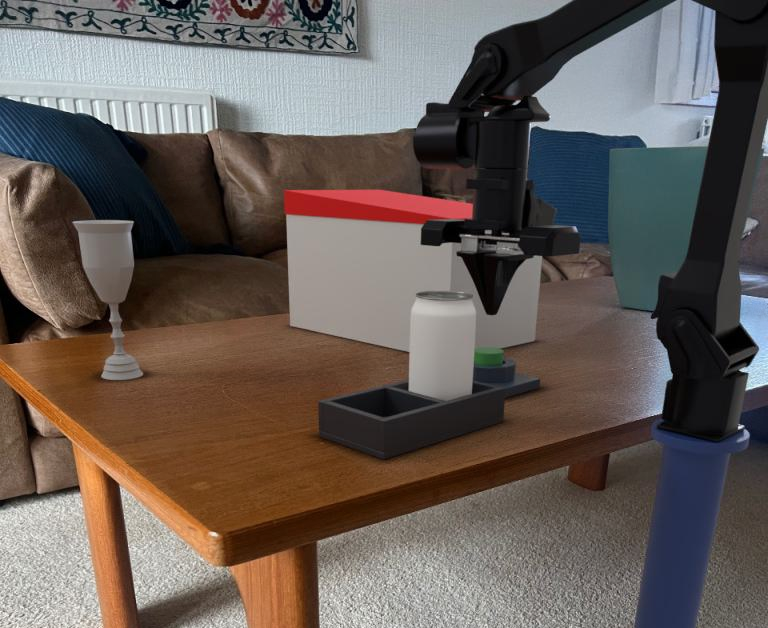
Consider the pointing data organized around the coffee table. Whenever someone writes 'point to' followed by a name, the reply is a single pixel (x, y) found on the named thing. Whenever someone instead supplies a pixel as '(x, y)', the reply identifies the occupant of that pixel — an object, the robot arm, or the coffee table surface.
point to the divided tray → (406, 417)
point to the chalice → (110, 281)
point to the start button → (488, 356)
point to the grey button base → (505, 377)
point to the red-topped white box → (388, 268)
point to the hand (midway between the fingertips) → (491, 314)
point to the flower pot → (652, 216)
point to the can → (442, 344)
